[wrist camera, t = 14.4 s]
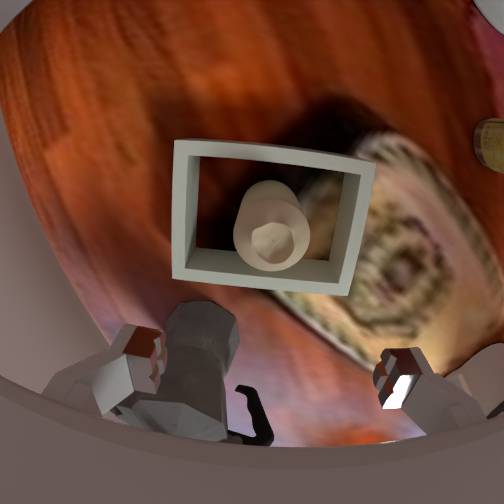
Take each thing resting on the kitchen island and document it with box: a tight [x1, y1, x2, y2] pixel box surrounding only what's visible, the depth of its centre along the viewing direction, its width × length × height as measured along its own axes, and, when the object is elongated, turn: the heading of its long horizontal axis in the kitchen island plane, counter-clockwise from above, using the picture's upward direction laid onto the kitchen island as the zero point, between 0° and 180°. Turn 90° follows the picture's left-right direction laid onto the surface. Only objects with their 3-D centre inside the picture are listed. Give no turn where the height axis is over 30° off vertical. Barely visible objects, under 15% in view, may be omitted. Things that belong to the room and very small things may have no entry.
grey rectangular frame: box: [172, 138, 377, 296], centre depth 27 cm, size 12×16×5 cm
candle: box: [233, 180, 310, 271], centre depth 25 cm, size 6×6×10 cm
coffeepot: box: [110, 301, 274, 447], centre depth 27 cm, size 15×9×18 cm, turn 73°
